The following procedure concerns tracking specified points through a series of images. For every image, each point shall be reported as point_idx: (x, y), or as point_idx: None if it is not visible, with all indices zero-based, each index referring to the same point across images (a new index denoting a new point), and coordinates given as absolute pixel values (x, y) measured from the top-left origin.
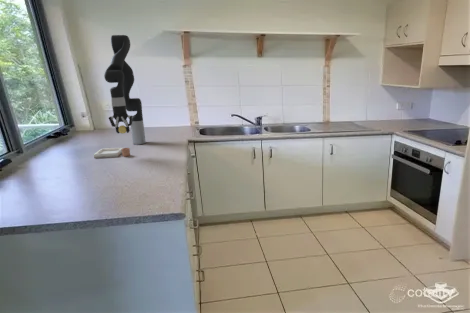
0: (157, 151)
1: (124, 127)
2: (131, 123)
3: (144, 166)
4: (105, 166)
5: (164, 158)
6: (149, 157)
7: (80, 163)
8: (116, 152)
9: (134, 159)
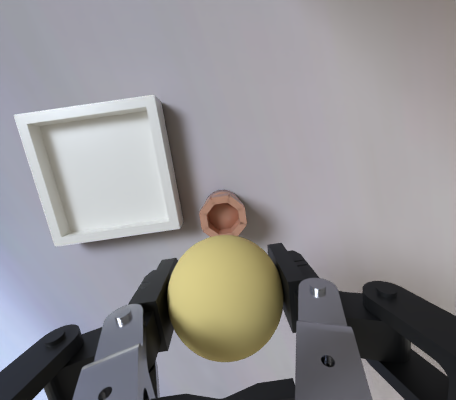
0: (367, 127)
1: (270, 337)
2: (413, 313)
3: None
4: None
5: (419, 261)
6: (347, 240)
7: (55, 307)
8: (171, 219)
9: None
